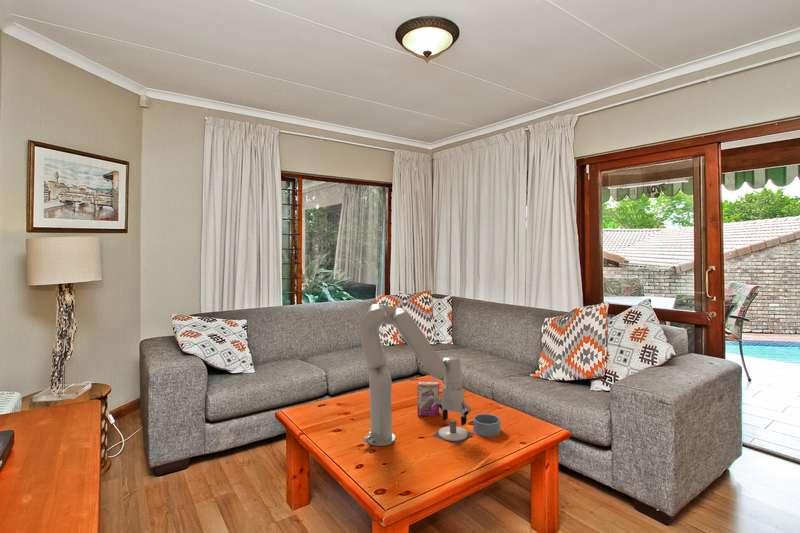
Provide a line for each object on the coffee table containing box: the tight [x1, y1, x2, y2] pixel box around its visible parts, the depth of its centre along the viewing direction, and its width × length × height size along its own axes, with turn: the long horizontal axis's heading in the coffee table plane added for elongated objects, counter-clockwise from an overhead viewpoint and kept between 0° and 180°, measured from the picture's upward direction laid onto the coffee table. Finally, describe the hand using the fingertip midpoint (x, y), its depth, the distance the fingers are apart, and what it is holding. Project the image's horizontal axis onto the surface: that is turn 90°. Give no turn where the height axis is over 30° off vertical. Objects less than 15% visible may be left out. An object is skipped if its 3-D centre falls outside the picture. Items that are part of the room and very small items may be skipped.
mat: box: [431, 430, 476, 446], centre depth 188 cm, size 14×14×1 cm
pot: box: [472, 413, 501, 438], centre depth 191 cm, size 12×12×6 cm
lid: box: [438, 419, 469, 442], centre depth 187 cm, size 13×13×6 cm
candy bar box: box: [417, 381, 440, 417], centre depth 212 cm, size 11×5×16 cm, turn 84°
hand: (454, 421), depth 187 cm, fingers open, 9 cm apart
